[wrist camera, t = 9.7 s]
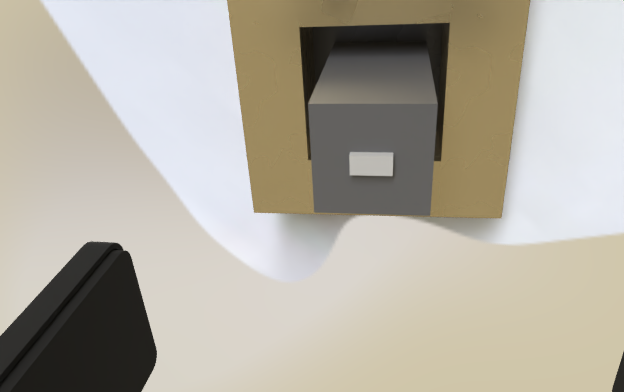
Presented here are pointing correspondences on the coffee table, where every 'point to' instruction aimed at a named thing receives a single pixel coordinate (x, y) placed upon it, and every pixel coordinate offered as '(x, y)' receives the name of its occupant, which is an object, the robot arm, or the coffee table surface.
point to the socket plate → (381, 28)
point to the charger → (374, 130)
